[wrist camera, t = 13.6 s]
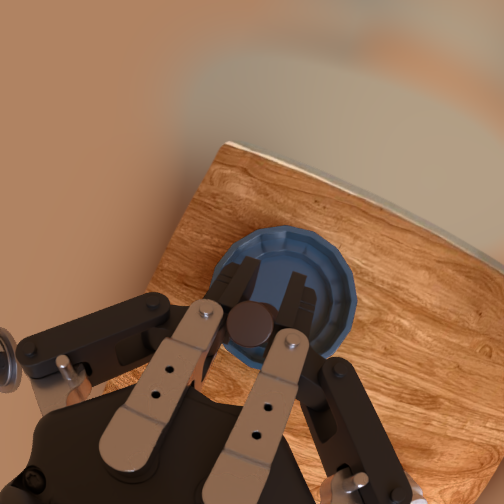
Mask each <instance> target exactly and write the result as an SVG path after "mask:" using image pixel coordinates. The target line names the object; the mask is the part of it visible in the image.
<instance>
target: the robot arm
mask: <svg viewBox="0 0 504 504" xmlns="http://www.w3.org/2000/svg"><path fill="white" fill-rule="evenodd" d="M260 264H261V260H258V259H255V258H252V257H249V256H245V258H244V260H243V261H242V263H241V264H237V263H234V262H231V263H230V264H228V265H226V266H224V268H223V269H222V271H221V272H220V274H219V275H218V277H217V278H216V280H215V281H214V282H213V284H212V285H211V287H210V288H209V290H208V291H207V293H206V294H205V296H204V297H203V299H200V300H197V301H195V302H193V303H192V304H191V305H190V306H177V305H170V301H169V299H168V298H167V297H166V296H165V295H163V294H161V293H157V292H149V293H146V294H143V295H140V296H137V297H135V298H132V299H129V300H127V301H124V302H121V303H118V304H116V305H113V306H110V307H108V308H105V309H102V310H99V311H97V312H94V313H91V314H89V315H86V316H83V317H81V318H78V319H75V320H72V321H70V322H67V323H64V324H62V325H59V326H56V327H54V328H51V329H48V330H46V331H43V332H40V333H37V334H34V335H32V336H29V337H27V338H24V339H23V340H21V341H20V342H19V344H18V345H17V347H16V350H15V355H16V359H17V360H18V362H19V364H20V365H21V367H22V368H23V370H24V373H25V374H26V376H27V377H28V378H29V380H30V381H31V384H32V387H33V390H34V393H35V397H36V400H37V402H38V405H39V408H40V411H41V413H42V416H43V417H42V418H41V419H40V421H39V422H38V424H37V426H36V428H35V430H34V434H33V445H32V452H31V456H30V459H29V462H28V464H27V466H26V468H25V469H24V470H23V471H22V472H21V473H20V474H19V475H18V476H17V477H16V478H14V479H13V480H12V481H11V482H10V483H8V484H7V485H6V486H5V487H4V488H3V489H2V491H1V492H0V504H316V503H315V501H314V499H313V497H312V494H311V492H310V490H309V488H308V486H307V484H306V482H305V480H304V477H303V475H302V473H301V471H300V469H299V466H298V464H297V462H296V460H295V458H294V455H293V453H292V451H291V449H290V446H289V444H288V442H287V441H286V439H285V437H284V436H283V432H284V429H285V426H286V423H287V421H288V418H289V415H290V412H291V409H292V406H293V403H294V400H295V398H296V399H297V400H299V401H300V405H301V408H302V411H303V414H304V416H305V419H306V422H307V424H308V427H309V430H310V433H311V435H312V438H313V441H314V443H315V446H316V449H317V451H318V454H319V456H320V459H321V462H322V464H323V467H324V470H325V472H326V475H327V478H326V479H325V480H324V481H323V482H322V484H321V486H320V497H321V502H320V504H410V503H411V501H412V497H413V492H412V488H411V486H410V483H409V481H408V479H407V477H406V475H405V472H404V470H403V468H402V466H401V464H400V461H399V459H398V457H397V455H396V453H395V451H394V449H393V446H392V444H391V442H390V440H389V438H388V436H387V434H386V432H385V430H384V428H383V425H382V423H381V421H380V419H379V417H378V415H377V413H376V411H375V409H374V407H373V405H372V403H371V401H370V399H369V397H368V395H367V393H366V391H365V389H364V387H363V385H362V383H361V381H360V379H359V377H358V375H357V373H356V371H355V369H354V367H353V366H352V364H351V363H350V362H348V361H347V360H345V359H343V358H340V357H331V358H328V359H325V358H324V357H322V356H320V355H319V354H317V353H316V352H315V351H314V350H313V349H312V347H311V345H310V343H309V334H310V329H311V325H312V320H313V315H314V311H315V306H316V301H317V296H316V293H315V290H314V289H312V288H309V287H306V286H305V282H306V278H307V275H304V274H301V273H298V272H295V271H292V274H291V277H290V280H289V283H288V286H287V289H286V292H285V295H284V298H283V300H282V303H281V306H280V309H279V312H278V315H277V317H276V320H275V323H274V328H273V332H272V334H271V336H270V338H269V340H268V343H267V346H266V348H265V351H264V354H263V357H262V358H265V361H264V364H263V366H262V368H261V370H260V372H259V374H258V376H257V378H256V380H255V383H254V385H253V387H252V389H251V391H250V394H249V396H248V398H247V400H246V402H245V404H244V406H236V405H229V404H221V403H216V402H213V401H212V400H210V399H209V398H207V397H206V396H204V395H203V394H202V393H201V389H202V387H203V384H204V382H205V380H206V377H207V375H208V373H209V371H210V368H211V366H212V364H213V362H214V359H215V357H216V354H217V351H218V349H219V347H220V346H221V344H222V343H224V344H226V345H228V343H229V341H230V339H231V338H230V336H229V334H228V332H227V328H226V320H227V316H228V314H229V312H230V311H231V309H232V308H233V307H234V306H235V305H237V304H239V303H241V302H244V301H249V300H250V298H251V296H252V293H253V291H254V288H255V284H256V280H257V276H258V272H259V268H260ZM148 362H149V364H148V366H147V367H146V369H145V370H144V372H143V374H142V375H141V377H140V379H139V381H138V382H137V383H136V384H133V385H130V386H128V387H125V388H122V389H119V390H116V391H113V392H110V393H107V394H104V395H101V396H99V397H95V398H92V399H89V400H86V399H87V397H88V396H89V395H90V393H91V390H92V387H94V386H96V385H98V384H100V383H103V382H105V381H108V380H110V379H112V378H115V377H117V376H119V375H122V374H124V373H126V372H128V371H131V370H133V369H135V368H137V367H140V366H142V365H144V364H146V363H148ZM11 376H12V361H11V356H10V352H9V349H8V347H7V345H6V343H5V341H4V340H3V339H2V337H1V336H0V387H2V386H6V385H8V383H9V382H10V380H11ZM85 400H86V401H85Z"/></svg>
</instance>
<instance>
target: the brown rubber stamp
mask: <svg viewBox="0 0 504 504" xmlns="http://www.w3.org/2000/svg"><path fill="white" fill-rule="evenodd" d="M278 312H279V311H278V310H277V309H276V308H275V307H274V306H272V305H271V304H268V303H264V302H256V301H244V302H241V303H239V304H237V305H235V306H234V307H233V308H232V309H231V311H230V312H229V314H228V316H227V320H226V328H227V332H228V334H229V336H230V338H231V339H232V340H233V341H234V342H235V343H236V344H238V345H240V346H242V347H246V348H254V347H258V346H260V345H262V344H264V343H266V342H268V340H269V338H270V336H271V334H272V332H273V328H274V323H275V320H276V317H277V315H278Z"/></svg>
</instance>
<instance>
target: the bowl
mask: <svg viewBox="0 0 504 504" xmlns="http://www.w3.org/2000/svg"><path fill="white" fill-rule="evenodd" d="M245 256H249V257H252V258H255V259H258V260H261V264H260V268H259V272H258V276H257V280H256V284H255V288H254V291H253V293H252V296H251V298H250V300H249V301H256V302H264V303H268V304H271V305H272V306H274V307H275V308H276V309H277V310H278V311H279V309H280V306H281V303H282V300H283V298H284V295H285V292H286V289H287V286H288V283H289V280H290V277H291V274H292V271H295V272H298V273H301V274H304V275H307V278H306V282H305V286H306V287H309V288H312V289H314V290H315V293H316V296H317V301H316V306H315V311H314V315H313V320H312V325H311V329H310V334H309V343H310V345H311V347H312V349H313V350H314V351H315V352H316V353H317V354H319V355H320V356H322V357H324V358H325V359H326V358H328V357H330V356H331V355H333V354H334V353H335V351H336V350H337V349H338V347H339V346H340V345H341V343H342V342H343V340H344V339H345V338H346V336H347V335H348V333H349V332H350V330H351V327H352V323H353V319H354V315H355V310H356V306H357V295H356V289H355V284H354V278H353V273H352V271H351V269H350V268H349V266H348V264H347V263H346V261H345V260H344V258H343V257H342V255H341V253H340V252H339V250H338V249H337V248H336V247H335V246H333V245H332V244H331V243H329V242H328V241H326V240H325V239H324V238H322V237H321V236H319V235H318V234H316V233H315V232H313V231H309V230H305V229H301V228H296V227H292V226H288V225H283V226H277V227H270V228H263V229H258V230H256V231H254V232H252V233H251V234H249V235H247V236H245V237H244V238H242V239H240V240H239V241H237V242H235V243H234V244H232V246H231V247H230V248H229V249H228V251H227V252H226V253H225V255H224V256H223V257H222V259H221V260H220V261H219V262H218V264H217V265H216V267H215V269H214V273H213V276H212V280H211V284H210V287H211V285H212V284H213V282H214V281H215V280H216V278H217V277H218V275H219V274H220V272H221V271H222V269H223V268H224V266H226V265H228V264H230V263H231V262H234V263H237V264H241V263H242V261H243V260H244V258H245ZM210 287H209V288H210ZM267 343H268V342H266V343H264V344H262V345H260V346H258V347H254V348H246V347H242V346H240V345H238V344H236V343H235V342H234V341H233V340H232V339H230V341H229V343H228V345H226V344H224V343H222V344H223V345H224V347H225V349H226V350H227V351H229V352H230V353H231V354H233V355H234V356H235V357H237V358H238V359H239V360H241V361H242V362H243V363H245V364H246V365H247V366H249V367H251V368H255V369H259V370H261V368H262V366H263V364H264V361H265V358H262V357H263V354H264V351H265V348H266V346H267Z"/></svg>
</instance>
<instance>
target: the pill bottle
mask: <svg viewBox="0 0 504 504" xmlns="http://www.w3.org/2000/svg"><path fill="white" fill-rule="evenodd" d="M404 472H405V475H406V477H407V479H408V481H409V483H410V486H411V488H412V492H413V497H412V501H411V503H410V504H427V501H426V499H425V498H424V497H423V496H422V495H423V492H422V489H421V488H420V486H419V485H418V484H417V483H416V482H415V481H414V480H413V479H412V478H411V476H410V475H409V474H408V473H407V472H406V471H404Z"/></svg>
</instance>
